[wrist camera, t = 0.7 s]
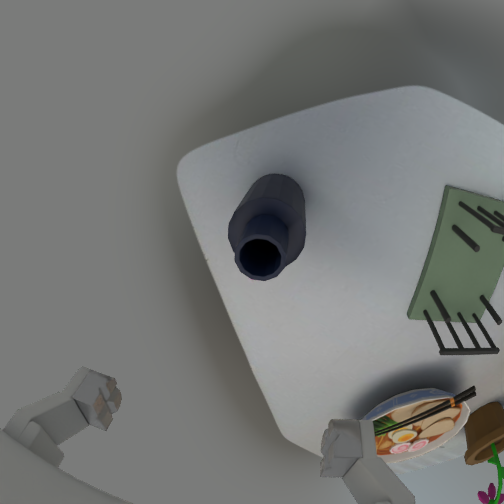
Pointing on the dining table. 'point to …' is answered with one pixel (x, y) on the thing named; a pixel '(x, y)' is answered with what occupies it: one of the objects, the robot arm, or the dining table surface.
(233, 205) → the dining table surface
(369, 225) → the dining table surface
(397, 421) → the ramen bowl
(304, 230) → the bottle
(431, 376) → the dining table surface
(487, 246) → the rack
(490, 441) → the flowerpot
